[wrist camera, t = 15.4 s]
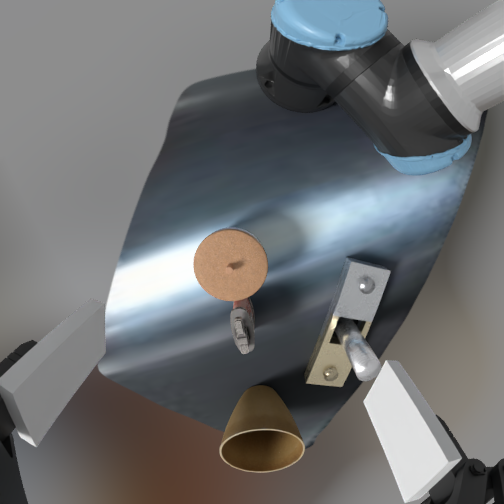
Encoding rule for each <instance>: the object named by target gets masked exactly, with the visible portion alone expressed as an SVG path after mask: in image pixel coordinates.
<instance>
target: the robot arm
mask: <svg viewBox="0 0 504 504" xmlns="http://www.w3.org/2000/svg"><path fill="white" fill-rule="evenodd" d="M384 10H385V7H384V5H383V4H382V2H381V1H380V0H276V1H275V4H274V6H273V8H272V12H271V33H270V40H269V41H268V42H267V43H266V44H265V45H264V47H263V48H262V49H261V51H260V53H259V56H258V58H257V64H256V74H257V79H258V82H259V85H260V87H261V89H262V90H263V92H264V93H265V94H266V95H267V96H268V98H270V99H271V100H272V101H273V102H274V103H276V104H277V105H279V106H281V107H283V108H285V109H288V110H291V111H295V112H302V113H310V112H316V111H320V110H323V109H325V108H327V107H329V106H330V105H332V104H333V103H334V102H336V103H337V104H338V105H339V106H340V107H341V108H342V109H343V110H344V111H345V112H346V113H347V114H348V115H349V116H350V117H351V118H352V119H353V121H354V122H355V123H356V124H357V125H358V126H359V127H360V128H361V130H362V131H363V132H364V133H365V134H366V135H367V136H368V138H369V139H370V140H371V141H372V142H373V143H374V147H375V148H376V150H377V151H378V152H379V153H380V154H381V155H383V156H384V157H385V158H386V159H387V160H388V161H389V163H390V164H391V165H392V166H393V167H394V168H395V169H396V170H398V171H399V172H401V173H403V174H407V175H425V174H429V173H433V172H436V171H439V170H441V169H444V168H446V167H448V166H449V165H451V164H452V161H453V160H457V159H460V158H461V157H462V156H463V155H464V154H465V153H466V152H467V151H468V149H469V147H470V145H471V141H472V137H471V133H473V132H475V131H477V130H478V129H479V124H480V119H481V115H482V113H483V111H485V110H487V109H489V108H491V107H493V106H495V105H497V104H499V103H501V102H503V101H504V0H498V1H496V2H494V3H493V4H491V5H490V6H488V7H486V8H485V9H483V10H482V11H480V12H479V13H477V14H475V15H474V16H472V17H471V18H469V19H468V20H466V21H465V22H463V23H462V24H460V25H459V26H457V27H456V28H455V29H453V30H452V31H450V32H449V33H448V34H446V35H444V36H443V37H442V38H440V39H439V40H437V41H435V42H429V41H425V40H420V39H414V40H412V41H411V42H410V43H408V44H407V45H406V46H404V45H403V44H401V42H399V41H398V40H397V38H396V37H394V35H393V34H392V33H390V31H389V30H388V29H387V27H388V16H387V14H386V13H385V12H384ZM105 353H106V344H105V303H103V302H100V301H97V300H94V299H90V300H89V301H87V302H86V303H85V304H83V305H82V306H81V307H80V308H78V309H77V310H76V311H75V312H74V313H72V314H71V315H70V316H69V317H68V318H67V319H65V320H64V321H63V322H62V323H60V324H59V325H58V326H57V327H56V328H55V329H53V330H52V331H51V332H50V333H49V334H48V335H47V336H45V337H44V338H43V339H42V340H41V341H40V342H39V343H37V342H35V341H33V340H31V341H29V342H26V343H24V344H21V345H20V346H19V347H18V348H17V349H15V350H14V352H13V353H11V354H10V355H9V356H8V357H7V358H5V359H4V360H3V361H2V362H1V363H0V504H28V502H27V498H26V495H25V491H24V488H23V484H22V480H21V476H20V471H19V467H18V462H17V457H16V451H15V446H14V439H13V436H12V433H11V432H12V431H13V430H14V428H16V429H17V432H18V433H19V435H20V437H21V438H23V439H24V440H26V441H27V442H29V443H30V444H32V445H34V446H35V447H37V446H38V444H39V443H40V441H41V440H42V438H43V437H44V435H45V434H46V433H47V431H48V430H49V428H50V427H51V425H52V424H53V423H54V421H55V420H56V418H57V417H58V415H59V414H60V413H61V411H62V410H63V408H64V407H65V405H66V404H67V403H68V402H69V400H70V399H71V398H72V396H73V395H74V393H75V392H76V391H77V389H78V388H79V387H80V385H81V384H82V382H83V381H84V380H85V379H86V377H87V376H88V374H89V373H90V372H91V371H92V369H93V368H94V367H95V366H96V364H97V363H98V362H99V361H100V359H101V358H102V357H103V355H104V354H105ZM364 404H365V407H366V409H367V411H368V414H369V416H370V418H371V421H372V423H373V425H374V427H375V430H376V432H377V435H378V437H379V440H380V442H381V444H382V447H383V449H384V452H385V454H386V457H387V459H388V461H389V464H390V467H391V469H392V471H393V474H394V476H395V479H396V482H397V484H398V487H399V490H400V492H401V495H402V497H403V500H404V502H405V503H407V502H411V501H414V500H418V499H420V498H421V497H422V496H423V495H424V494H426V493H427V492H428V491H429V494H430V496H429V497H428V498H427V499H426V500H425V501H423V502H422V503H421V504H486V503H487V502H488V501H490V500H491V499H492V498H493V497H494V501H495V502H494V503H493V504H504V459H501V460H500V461H499V462H498V463H497V464H496V465H495V466H494V467H486V466H485V465H484V464H483V463H482V462H481V461H480V460H478V459H468V458H467V456H466V455H465V453H464V452H463V450H462V449H461V447H460V445H459V443H458V442H457V440H456V439H455V437H453V434H452V433H451V431H449V428H448V426H447V425H446V423H445V422H444V421H443V420H442V419H441V418H440V417H439V416H437V415H435V414H434V412H433V411H432V409H431V408H430V406H429V405H428V403H427V402H426V401H425V399H424V397H423V396H422V394H421V393H420V391H419V390H418V388H417V387H416V386H415V384H414V383H413V381H412V380H411V378H410V377H409V375H408V374H407V372H406V371H405V370H404V368H403V367H402V365H401V364H400V363H399V362H398V361H393V360H386V361H385V363H384V365H383V367H382V369H381V371H380V373H379V375H378V377H377V378H376V380H375V382H374V384H373V386H372V388H371V389H370V391H369V393H368V395H367V397H366V398H365V400H364Z"/></svg>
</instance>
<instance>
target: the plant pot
mask: <svg viewBox="0 0 504 504" xmlns="http://www.w3.org/2000/svg"><path fill="white" fill-rule="evenodd" d="M304 450H305V446H304V443H303V440H302V437H301V435H300V432H299V430H298V428H297V425H296V423H295V421H294V419H293V417H292V415H291V413H290V412H289V410H288V408H287V407H286V405H285V404H284V402H283V401H282V399H281V398H280V397H279V395H278V394H277V393H276V391H275V390H274V389H272V388H271V387H268V386H264V385H258V386H253V387H251V388H249V389H247V390H246V391H245V392H244V394H243V395H242V397H241V398H240V400H239V402H238V403H237V405H236V407H235V409H234V411H233V413H232V415H231V417H230V420H229V422H228V424H227V427H226V430H225V433H224V436H223V439H222V442H221V446H220V456H221V457H222V459H223V460H224V461H225V462H226V463H227V464H229V465H230V466H232V467H234V468H237V469H240V470H244V471H249V472H271V471H277V470H281V469H283V468H286V467H288V466H291V465H292V464H294V463H295V462H297V461H298V460H299V459H300V458H301V457H302V455H303V453H304Z"/></svg>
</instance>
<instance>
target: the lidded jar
mask: <svg viewBox="0 0 504 504" xmlns="http://www.w3.org/2000/svg"><path fill="white" fill-rule="evenodd" d="M194 272H195V275H196V278H197V280H198V282H199V284H200V285H201V287H202V288H203V289H204V290H205V291H206V292H207V293H209V294H210V295H212V296H214V297H215V298H218V299H221V300H225V301H238V300H243V299H245V298H248V297H250V296H251V295H253V294H254V293H256V292H257V291H258V290H259V289H260V288H261V286H262V285H263V283H264V281H265V279H266V276H267V272H268V260H267V256H266V253H265V250H264V248H263V246H262V244H261V243H260V241H259V240H258V239H257V238H256V237H255V236H254V235H253V234H252V233H250V232H248V231H246V230H244V229H241V228H236V227H228V228H223V229H220V230H217V231H215V232H213V233H212V234H210V235H209V236H208V237H206V238H205V239H204V240H203V241H202V243H201V244H200V245H199V247H198V249H197V251H196V253H195V257H194Z"/></svg>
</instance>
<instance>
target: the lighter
mask: <svg viewBox="0 0 504 504" xmlns="http://www.w3.org/2000/svg"><path fill="white" fill-rule="evenodd" d="M254 322H255V317H254V309H253V305H252V302H251V299H250V297H248V298H245V299H243V300H238V301H234V306H233V310H232V311H231V329H232V334H233V337H234V340H235V343H236V345H237V347H238V349H239V350H240V351H241V353H242V354H246V353H248V352H250V351H252V350H253V349H254Z"/></svg>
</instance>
